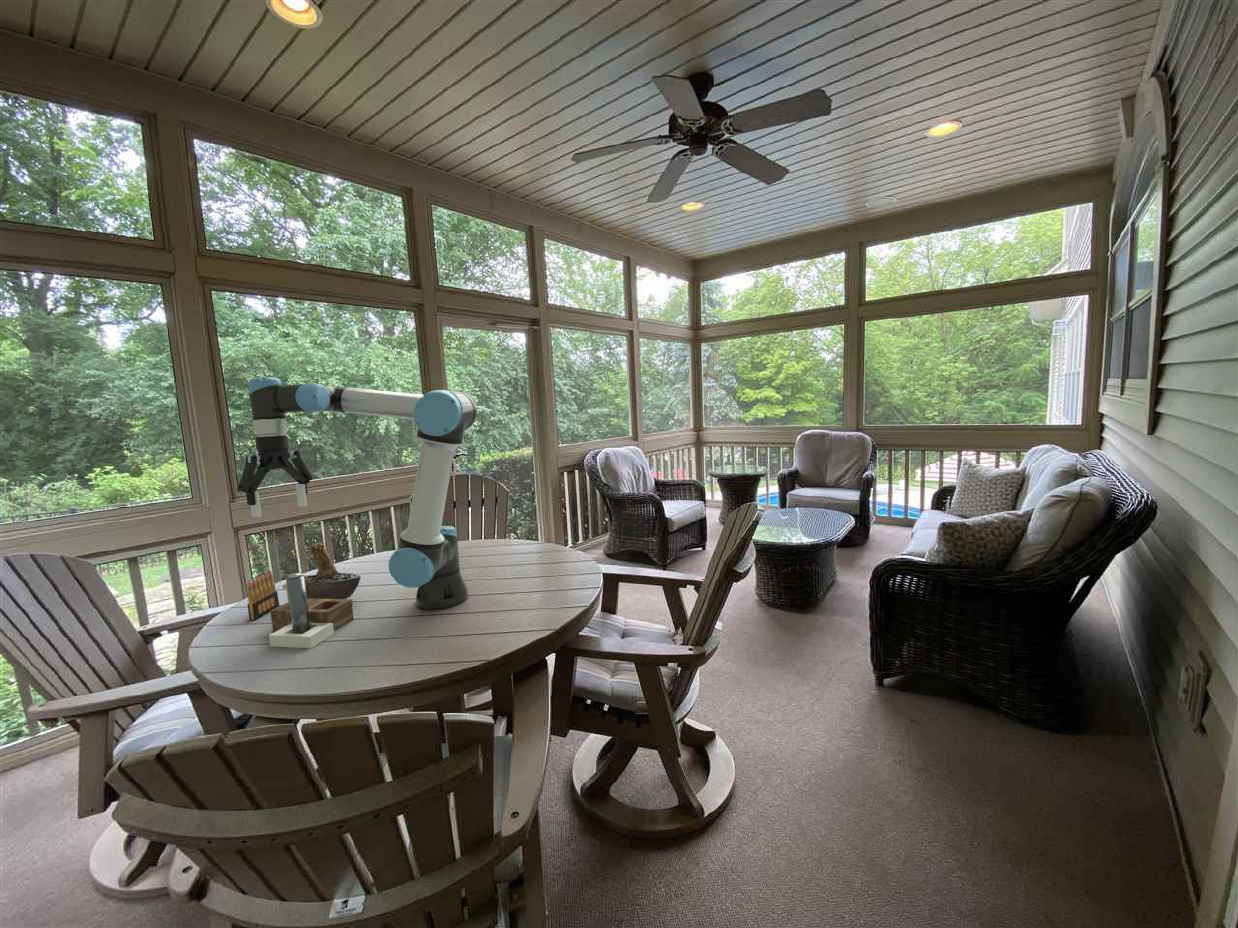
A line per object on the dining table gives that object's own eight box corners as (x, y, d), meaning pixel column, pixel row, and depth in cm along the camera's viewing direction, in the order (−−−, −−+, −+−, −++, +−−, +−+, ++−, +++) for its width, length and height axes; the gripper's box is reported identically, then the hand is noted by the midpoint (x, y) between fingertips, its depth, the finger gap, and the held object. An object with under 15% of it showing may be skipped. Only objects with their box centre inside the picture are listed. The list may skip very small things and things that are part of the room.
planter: (290, 606, 157) (282, 544, 155) (348, 590, 170) (341, 532, 167) (305, 619, 147) (296, 552, 145) (365, 600, 159) (358, 538, 157)
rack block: (334, 633, 136) (332, 623, 136) (311, 647, 128) (309, 636, 128) (295, 632, 138) (293, 621, 138) (270, 646, 131) (268, 635, 130)
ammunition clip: (255, 620, 148) (249, 581, 147) (249, 621, 148) (243, 581, 147) (279, 606, 159) (274, 569, 157) (273, 606, 159) (268, 569, 157)
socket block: (353, 619, 145) (351, 599, 144) (330, 633, 136) (328, 612, 136) (298, 617, 148) (296, 598, 148) (273, 631, 140) (270, 610, 139)
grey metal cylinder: (315, 633, 135) (307, 571, 133) (303, 639, 131) (295, 577, 129) (301, 632, 136) (294, 571, 134) (289, 639, 132) (281, 576, 130)
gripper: (302, 432, 152) (310, 502, 155) (213, 439, 129) (224, 521, 131) (321, 432, 150) (329, 502, 152) (234, 438, 126) (245, 522, 129)
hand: (280, 511), depth 142 cm, fingers open, 13 cm apart
